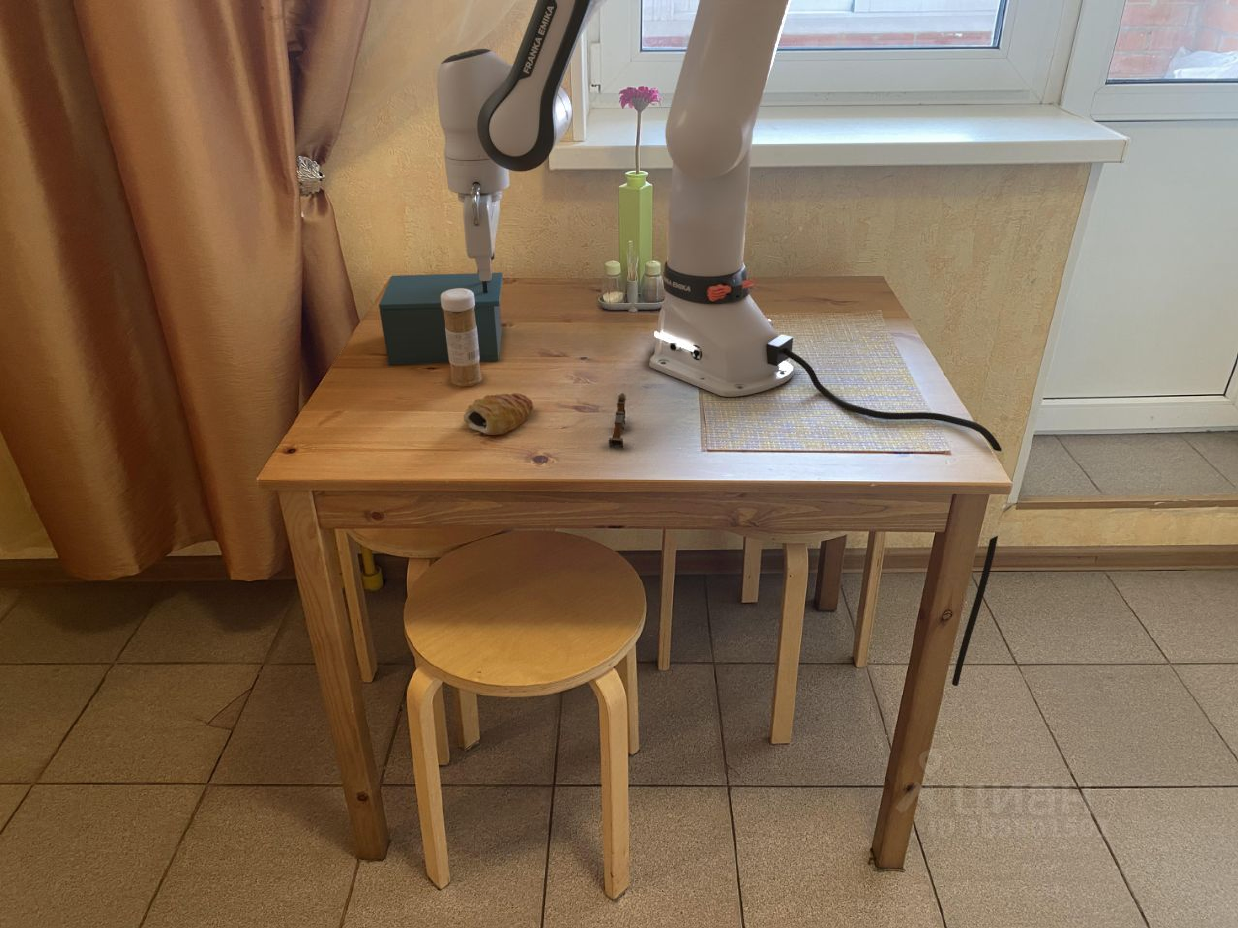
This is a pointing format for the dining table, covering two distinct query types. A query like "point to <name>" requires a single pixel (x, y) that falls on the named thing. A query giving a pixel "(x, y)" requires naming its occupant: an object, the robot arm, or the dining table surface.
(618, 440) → the wooden post with brackets
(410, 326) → the chest
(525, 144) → the robot arm
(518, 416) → the pastry
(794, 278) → the dining table surface
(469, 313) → the sprinkles bottle
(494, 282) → the lid
